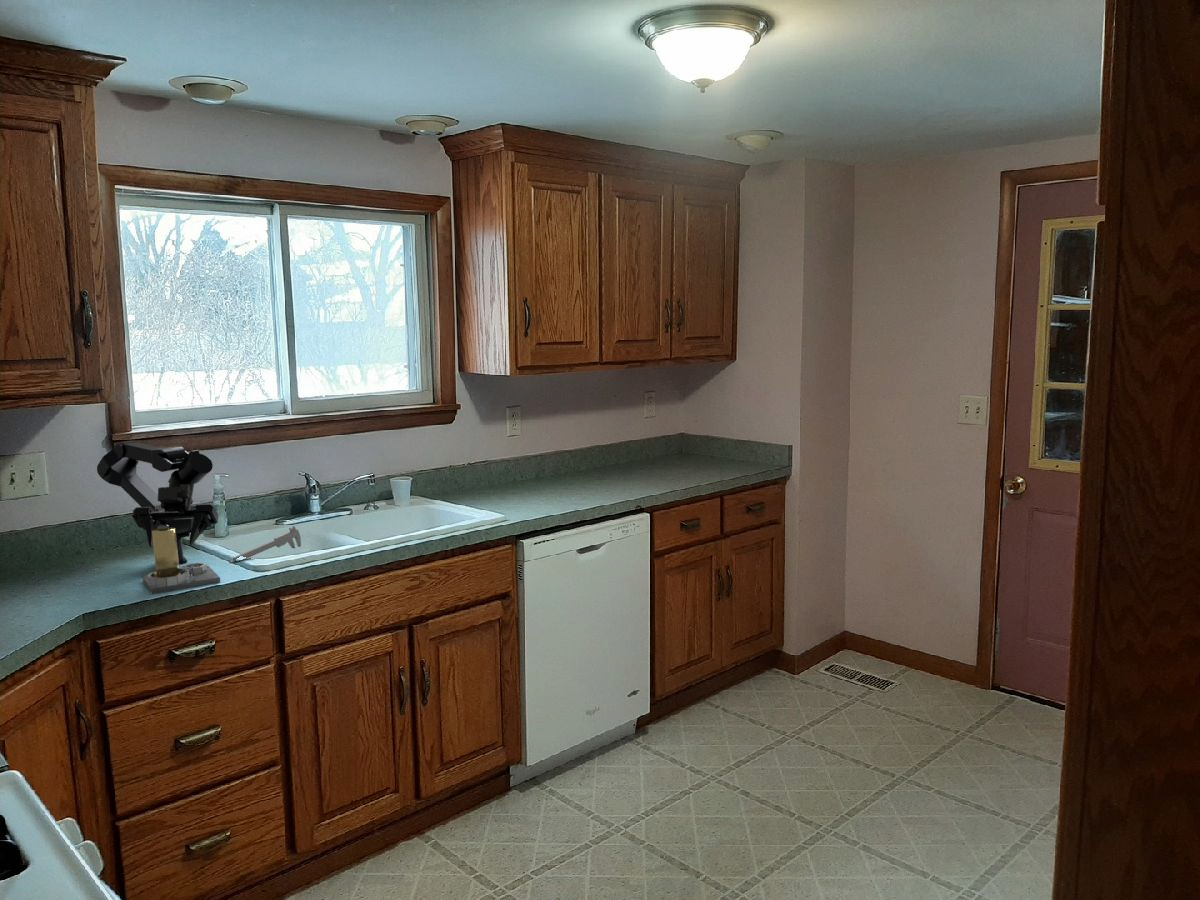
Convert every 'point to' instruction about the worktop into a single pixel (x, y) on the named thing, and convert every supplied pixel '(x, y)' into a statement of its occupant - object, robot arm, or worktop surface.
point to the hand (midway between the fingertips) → (170, 545)
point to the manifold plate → (189, 583)
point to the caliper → (274, 543)
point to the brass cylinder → (165, 551)
